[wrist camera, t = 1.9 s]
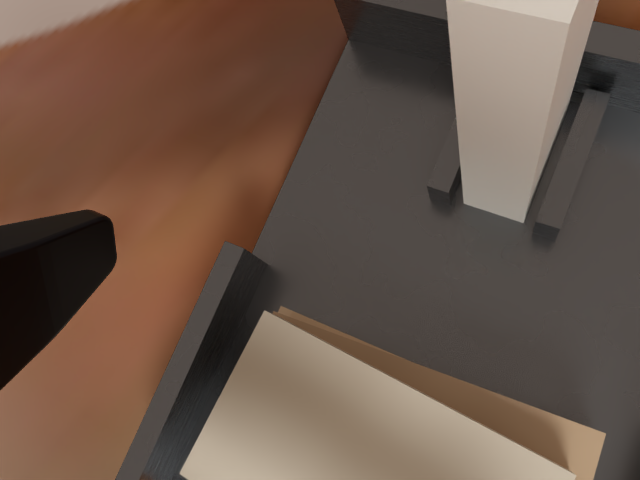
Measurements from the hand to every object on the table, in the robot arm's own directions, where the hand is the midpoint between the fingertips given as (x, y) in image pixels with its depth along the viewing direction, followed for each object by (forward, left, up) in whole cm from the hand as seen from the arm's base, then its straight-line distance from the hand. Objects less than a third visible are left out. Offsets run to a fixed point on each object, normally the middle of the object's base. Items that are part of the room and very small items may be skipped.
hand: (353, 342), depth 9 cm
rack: (+1, -2, -14) cm, 14 cm away
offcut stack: (-1, +2, -13) cm, 13 cm away
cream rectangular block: (+4, -8, -13) cm, 16 cm away
